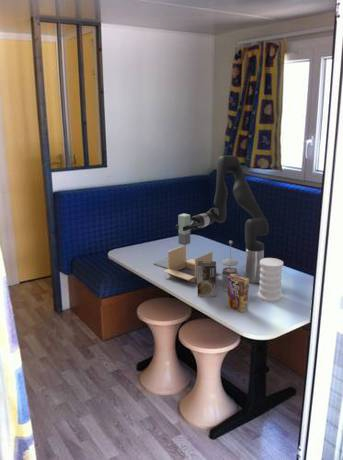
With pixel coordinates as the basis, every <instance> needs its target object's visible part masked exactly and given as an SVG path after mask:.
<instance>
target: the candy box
mask: <svg viewBox="0 0 343 460" xmlns="http://www.w3.org/2000/svg"><path fill="white" fill-rule="evenodd" d="M249 286H250V282H249V279H248V278H245V276H241V275H239V274H238V275H236V274H230V276H228V292H227V303H226V306H227V308H230V309H232V310H235V311H237V312H241V313H245V312H247V310H248V308H249V307H248V306H249Z"/></svg>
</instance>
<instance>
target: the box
mask: <svg viewBox="0 0 343 460" xmlns="http://www.w3.org/2000/svg"><path fill="white" fill-rule="evenodd" d="M177 218H178V219H177V221H178V222H177V225H178V229H177V231H178V244H179V245H182V246H184V245H186V246H188V245H189V244H191V230H186V231H183V227H184V226H187V225H190V219H191V214H188V213H181V214H178V217H177Z"/></svg>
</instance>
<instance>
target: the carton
mask: <svg viewBox="0 0 343 460" xmlns="http://www.w3.org/2000/svg"><path fill="white" fill-rule="evenodd" d="M167 258H168V269H164V270H162V272H163V273H166V274H168V275H171V276H173V277H177V278H179V279H183V280H185V281H189V282H191V283H195V284H197V264H198V261H213V252H212V251H210V252H209V253H206V254H203V255H202V256H199V257H197V258H195V259H193V258H190V259H188V260H187V245H182V246H178V247H176V248H173V249H170V250H168V251H167ZM217 267H218V266H217V265H216V268H217ZM184 268H187V269H191V270H192V271H194V275H191V274H188V273H184V272H182V271H181V272H180V270H181V269H182V270H183V269H184Z"/></svg>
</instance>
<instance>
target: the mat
mask: <svg viewBox="0 0 343 460" xmlns="http://www.w3.org/2000/svg"><path fill="white" fill-rule="evenodd" d="M152 264H153V265H155V266H157V267H161V268H164V269H165V270H167V269H168V257H166V258H164V259H161V260H158V261H156V262H155V261H154V262H153V263H152Z"/></svg>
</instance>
